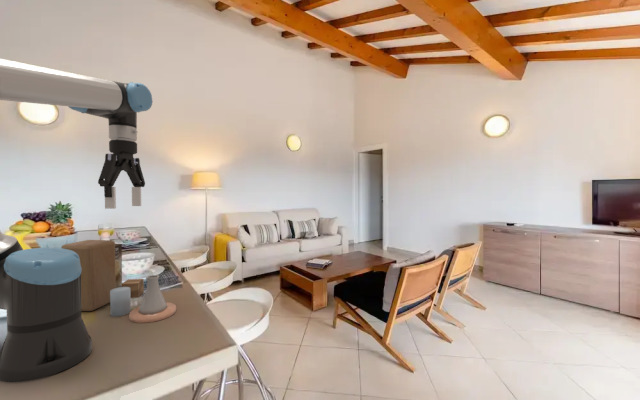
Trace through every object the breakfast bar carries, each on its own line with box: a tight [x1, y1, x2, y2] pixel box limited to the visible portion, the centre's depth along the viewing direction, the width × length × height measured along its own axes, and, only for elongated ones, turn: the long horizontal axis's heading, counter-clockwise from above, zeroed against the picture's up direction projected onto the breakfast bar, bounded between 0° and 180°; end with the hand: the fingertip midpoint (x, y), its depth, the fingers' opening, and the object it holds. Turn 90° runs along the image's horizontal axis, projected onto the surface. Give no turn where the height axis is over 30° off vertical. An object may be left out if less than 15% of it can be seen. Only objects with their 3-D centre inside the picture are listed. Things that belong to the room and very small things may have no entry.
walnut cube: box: [121, 278, 145, 299], centre depth 104 cm, size 5×5×5 cm
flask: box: [138, 274, 168, 314], centre depth 88 cm, size 7×7×10 cm
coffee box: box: [115, 243, 123, 288], centre depth 109 cm, size 9×6×16 cm
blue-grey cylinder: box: [109, 286, 132, 317], centre depth 89 cm, size 5×5×7 cm
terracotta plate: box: [128, 301, 177, 324], centre depth 88 cm, size 12×12×1 cm
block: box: [60, 239, 116, 312], centre depth 94 cm, size 10×10×20 cm
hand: (124, 207), depth 97 cm, fingers open, 13 cm apart
